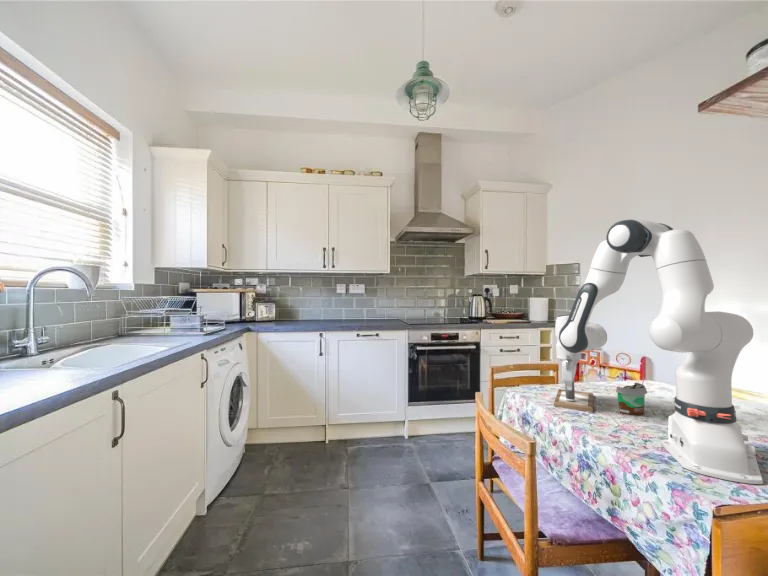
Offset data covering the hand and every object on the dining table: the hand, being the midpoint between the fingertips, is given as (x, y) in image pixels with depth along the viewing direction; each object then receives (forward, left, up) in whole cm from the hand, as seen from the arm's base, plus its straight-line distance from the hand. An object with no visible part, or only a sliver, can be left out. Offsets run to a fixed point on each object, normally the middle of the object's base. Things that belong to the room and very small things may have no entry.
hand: (570, 388), depth 129 cm
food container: (0, -21, -7) cm, 22 cm away
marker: (0, 0, -5) cm, 5 cm away
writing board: (+5, -1, -6) cm, 8 cm away
